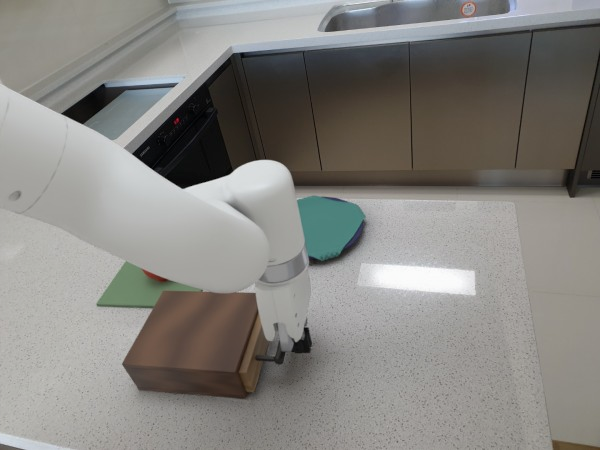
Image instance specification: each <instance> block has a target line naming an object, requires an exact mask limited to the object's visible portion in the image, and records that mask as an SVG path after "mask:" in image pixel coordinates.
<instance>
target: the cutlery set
mask: <svg viewBox="0 0 600 450" xmlns="http://www.w3.org/2000/svg"><path fill="white" fill-rule="evenodd" d="M297 203H298V208H299V213H300V218H301V223H302V228H303V233H304V238H305V243H306V248H307V253H308V258H309V260H318V261H321V262H323V261H326V260H329V259H333V258H337V257H339V255H340V254H341V252H343V251H344V250H346V249H349V248H350V247H351V246H353V244H354V243H355V242H356V241H357V240H358V239H359V238H360V236H361V234H362V232H363V229H364V227H365V225H364V220H365V218H367V216H366V214H365V213H364V211H363V210H362V208H361V207H360V206H359V205H358V204H357V203H354V202H350V201H347V200H344V199H341V198H339V197H333V196H332V197H331V196H319V195H310V196H307V197H302V198H298V199H297Z"/></svg>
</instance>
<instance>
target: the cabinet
mask: <svg viewBox="0 0 600 450" xmlns="http://www.w3.org/2000/svg"><path fill="white" fill-rule="evenodd" d="M258 312H259V311H258V306H257V300H256V292H242V291H238V292H234V293H214V292H209V291H204V290H202V291H163V292H162V293H161V295H160V297H159V299H158V301H157V302H156V304H155V306H154V308H151V311H150V312H149V315H148V316H147V318H146V320H145V321H144V324H143V325H142V327H141V329H140V331H139V332H138V334H137V336H136V337H135V339H134V341H133V343H132V344H131V347H130V349H129V350H128V352H127V354H126V356H125V357H124V359H123V361H122V363H121V365H122V367H123V369H124V370H125V371H126V373H127V375H128V376H129V377H130V379H131V381H132V382H133V384H134V385H135V387H136V389H137V390H138V391H145V392H146V391H148V392H160V393H169V394H182V395H183V394H184V395H193V396H205V397H206V396H207V397H216V398H217V397H218V398H229V399H240V400H247V399H248V395H249V394H250V392H246V389H245V387H244V384H243V382H242V380H241V377H240V375H239V371H238V370H239V367H240V364H241V361H242V358H243V355H244V352H245V349H246V346H247V343H248V340H249V337H250V334H251V331H252V328H253V325H254V322H255V319H256V316H257V315H258Z"/></svg>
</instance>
